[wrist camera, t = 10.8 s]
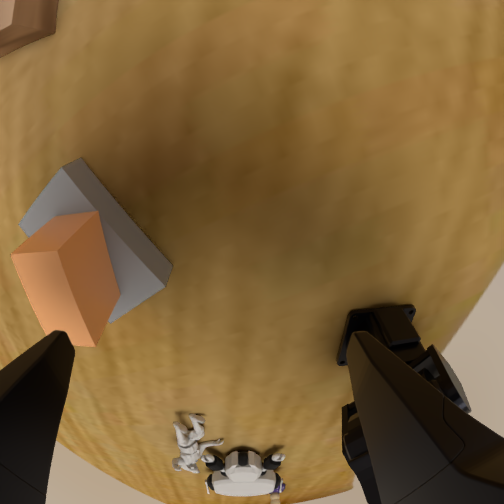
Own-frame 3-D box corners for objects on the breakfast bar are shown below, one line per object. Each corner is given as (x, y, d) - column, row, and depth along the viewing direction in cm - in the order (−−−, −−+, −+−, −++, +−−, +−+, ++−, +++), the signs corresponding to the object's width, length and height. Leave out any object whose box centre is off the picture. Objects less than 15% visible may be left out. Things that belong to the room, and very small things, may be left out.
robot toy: (197, 438, 35) (208, 476, 41) (195, 465, 31) (207, 498, 37) (287, 436, 36) (278, 475, 42) (291, 463, 32) (281, 496, 38)
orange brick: (120, 294, 19) (95, 347, 14) (79, 294, 19) (50, 342, 14) (98, 210, 16) (57, 250, 12) (54, 216, 16) (10, 254, 12)
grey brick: (174, 262, 21) (165, 286, 19) (121, 299, 23) (110, 323, 20) (83, 156, 17) (61, 167, 15) (39, 208, 19) (18, 224, 16)
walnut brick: (60, -8, 11) (19, -24, 6) (55, 33, 12) (11, 24, 8) (0, 21, 11) (-41, 17, 6) (-3, 59, 12) (-47, 61, 8)
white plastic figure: (225, 408, 31) (230, 468, 34) (198, 391, 35) (206, 452, 37) (171, 438, 26) (187, 496, 28) (146, 416, 29) (164, 476, 31)
